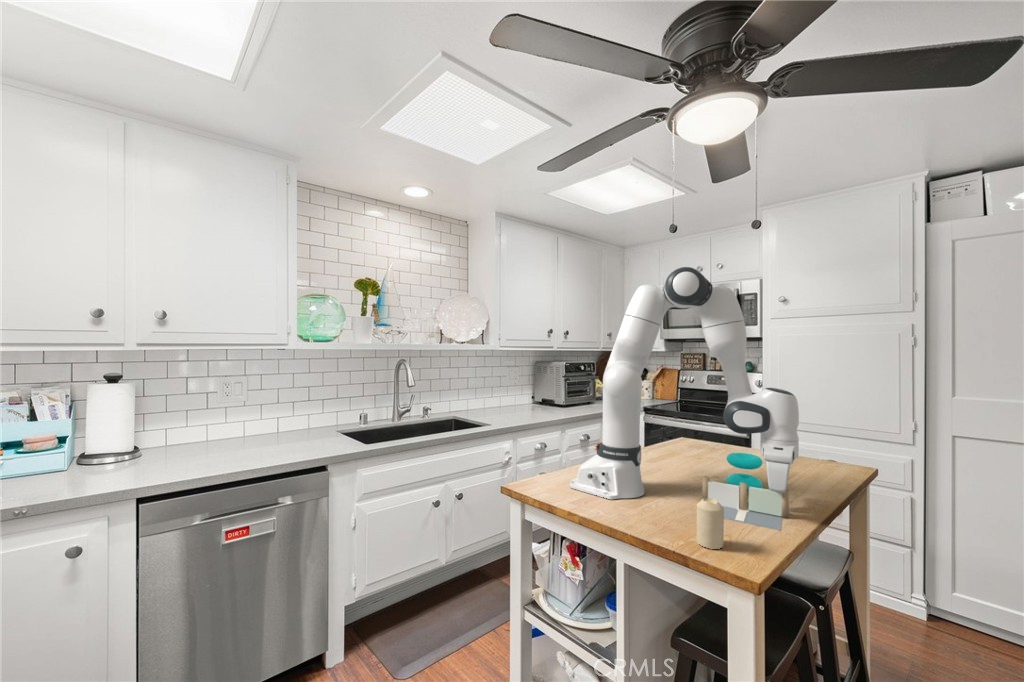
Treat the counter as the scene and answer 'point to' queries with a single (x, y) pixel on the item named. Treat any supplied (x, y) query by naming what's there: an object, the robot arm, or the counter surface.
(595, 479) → the robot arm
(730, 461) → the donuts
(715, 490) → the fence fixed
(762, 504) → the fence panel
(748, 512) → the board
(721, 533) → the candle
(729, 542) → the counter surface
